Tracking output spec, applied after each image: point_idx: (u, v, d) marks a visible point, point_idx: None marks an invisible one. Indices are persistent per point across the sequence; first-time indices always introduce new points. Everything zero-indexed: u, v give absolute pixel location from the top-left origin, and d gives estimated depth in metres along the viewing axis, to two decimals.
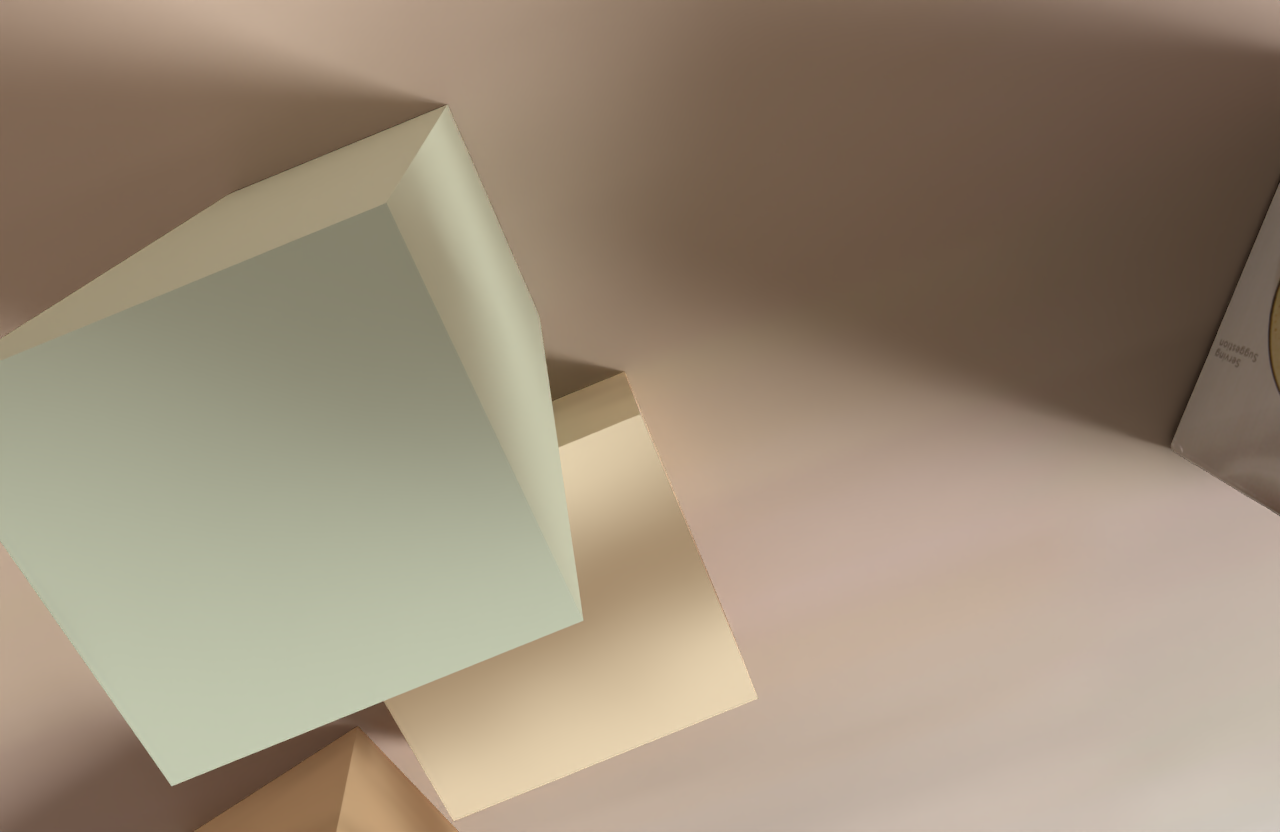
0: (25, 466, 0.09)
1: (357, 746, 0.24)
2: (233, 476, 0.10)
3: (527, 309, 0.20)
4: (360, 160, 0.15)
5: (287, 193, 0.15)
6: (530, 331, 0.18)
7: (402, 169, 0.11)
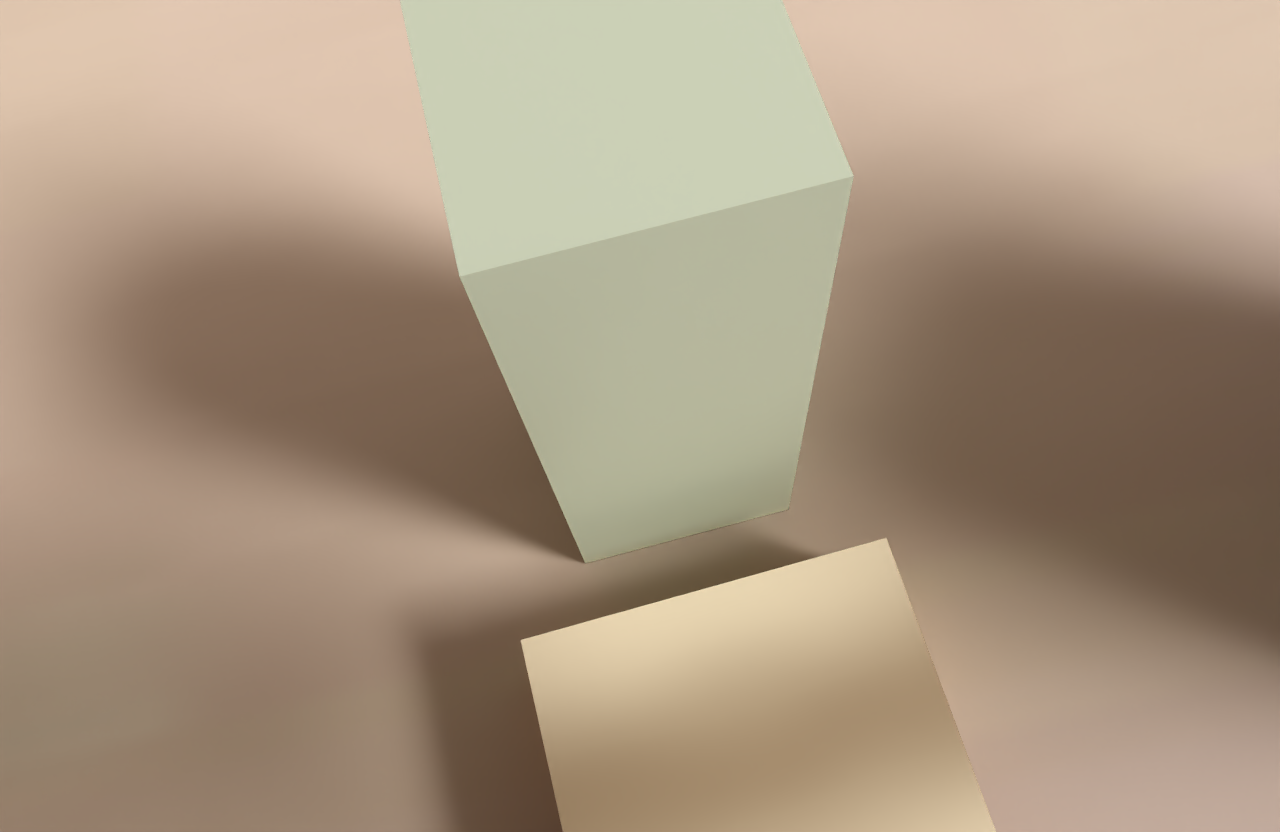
0: (453, 22, 0.13)
1: None
2: (591, 39, 0.13)
3: None
4: None
5: None
6: None
7: None
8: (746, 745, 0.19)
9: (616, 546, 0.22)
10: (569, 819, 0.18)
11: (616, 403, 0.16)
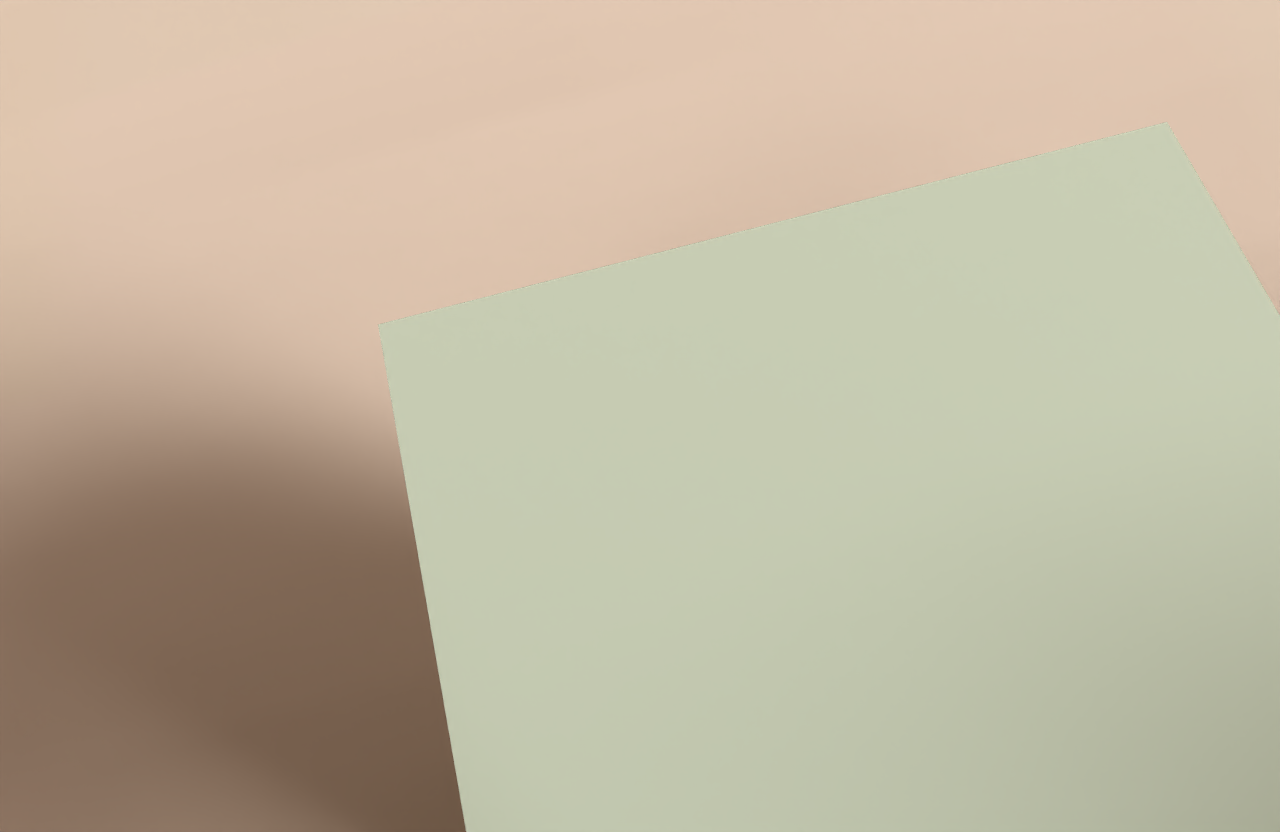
0: (517, 449, 0.05)
1: None
2: (868, 515, 0.05)
3: None
4: None
5: None
6: None
7: None
8: None
9: None
10: None
11: None
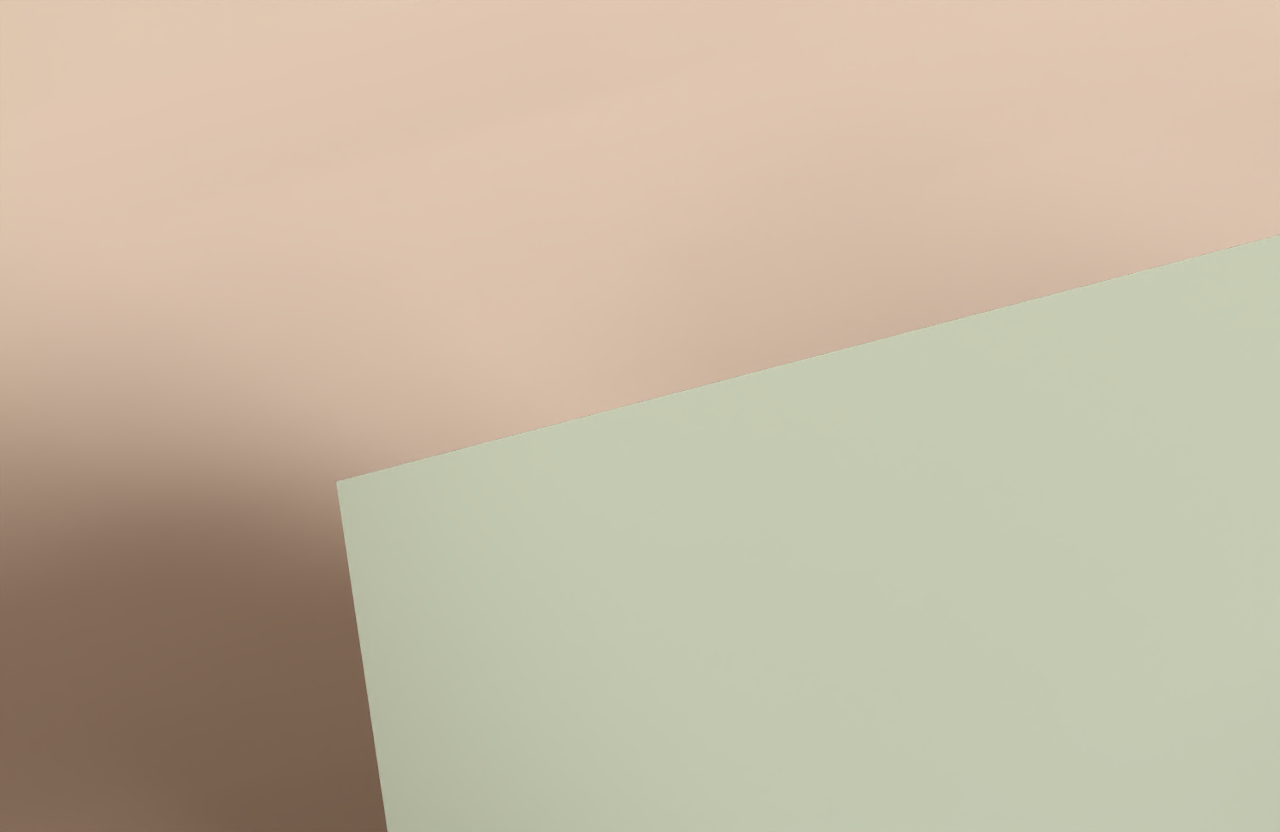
0: (537, 682, 0.04)
1: None
2: (1065, 800, 0.03)
3: None
4: None
5: None
6: None
7: None
8: None
9: None
10: None
11: None
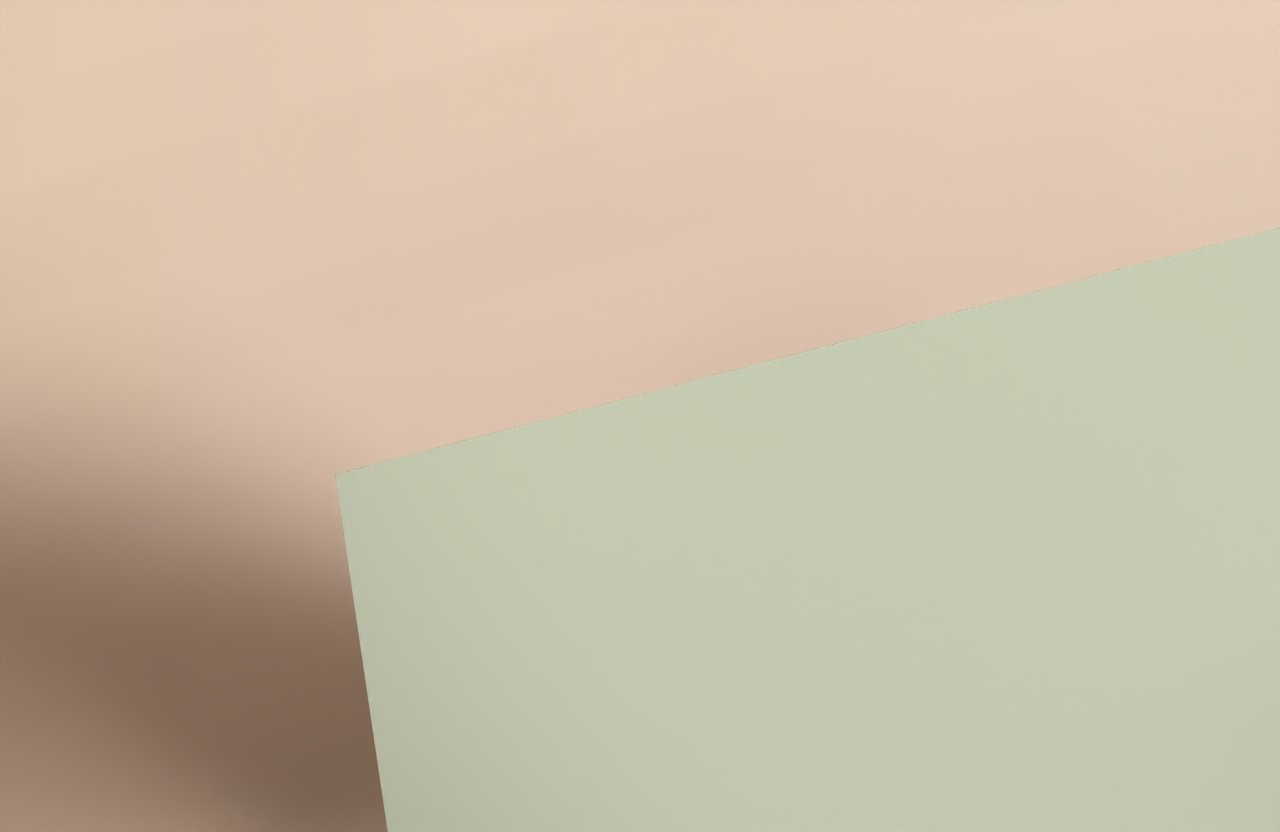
0: (535, 673, 0.04)
1: None
2: (1059, 789, 0.03)
3: None
4: None
5: None
6: None
7: None
8: None
9: None
10: None
11: None
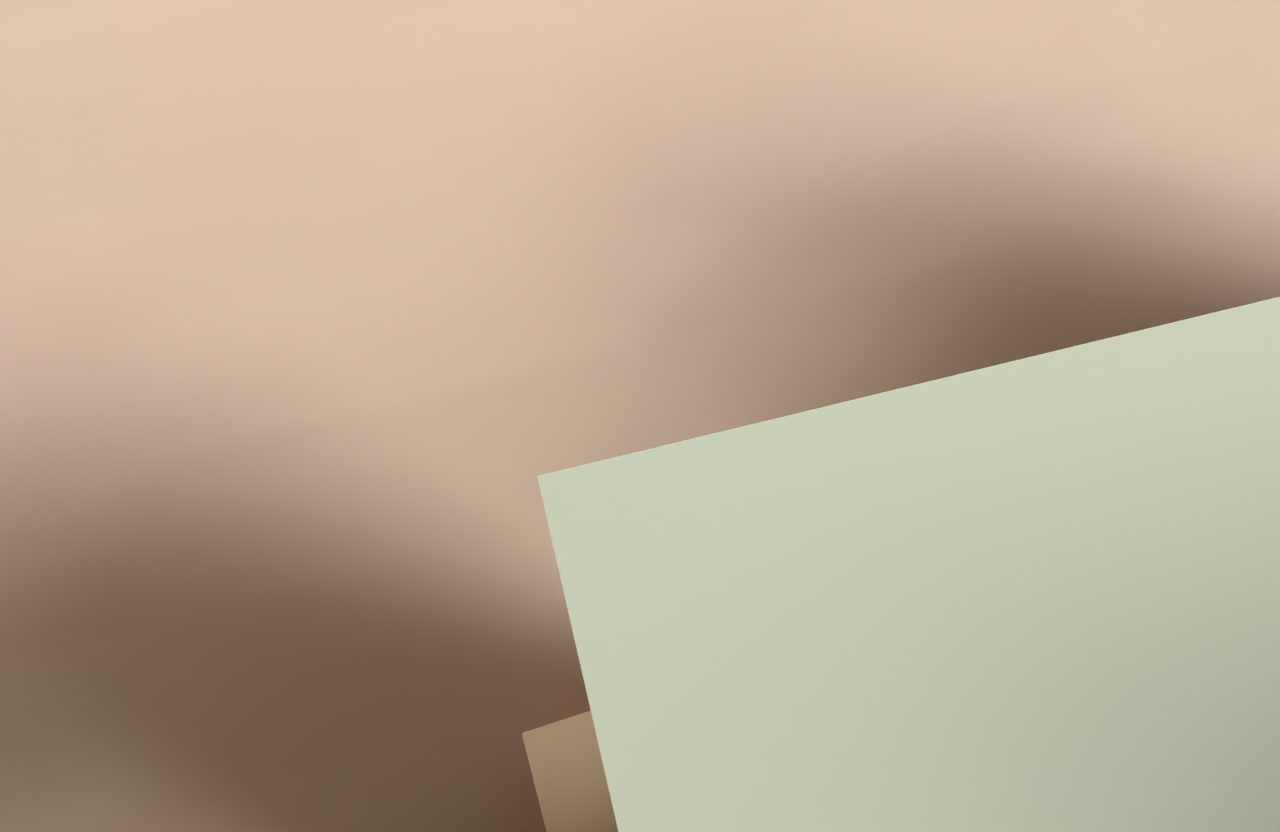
0: (696, 620, 0.05)
1: None
2: (1074, 701, 0.05)
3: None
4: None
5: None
6: None
7: None
8: None
9: None
10: None
11: None
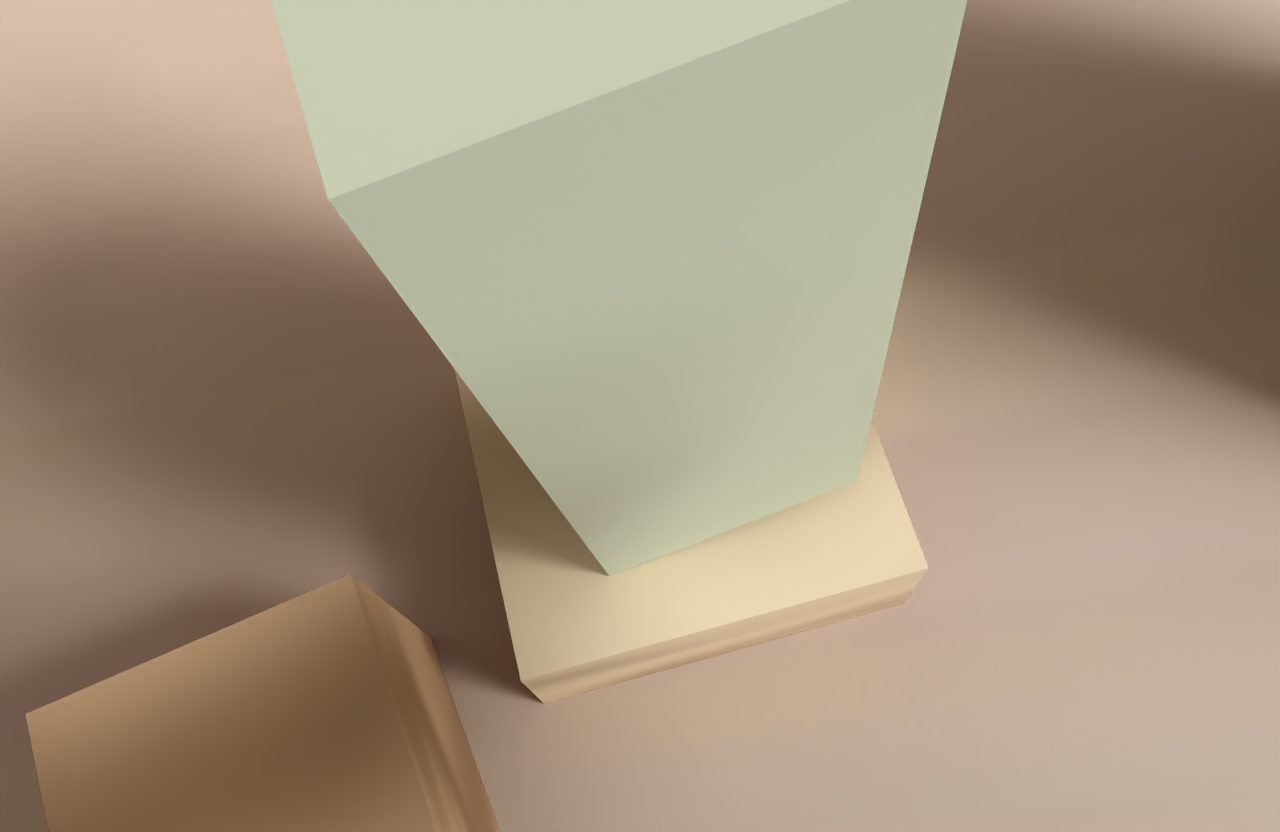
0: None
1: (424, 635, 0.20)
2: None
3: None
4: None
5: None
6: None
7: None
8: None
9: (646, 552, 0.17)
10: (484, 469, 0.19)
11: (623, 376, 0.11)
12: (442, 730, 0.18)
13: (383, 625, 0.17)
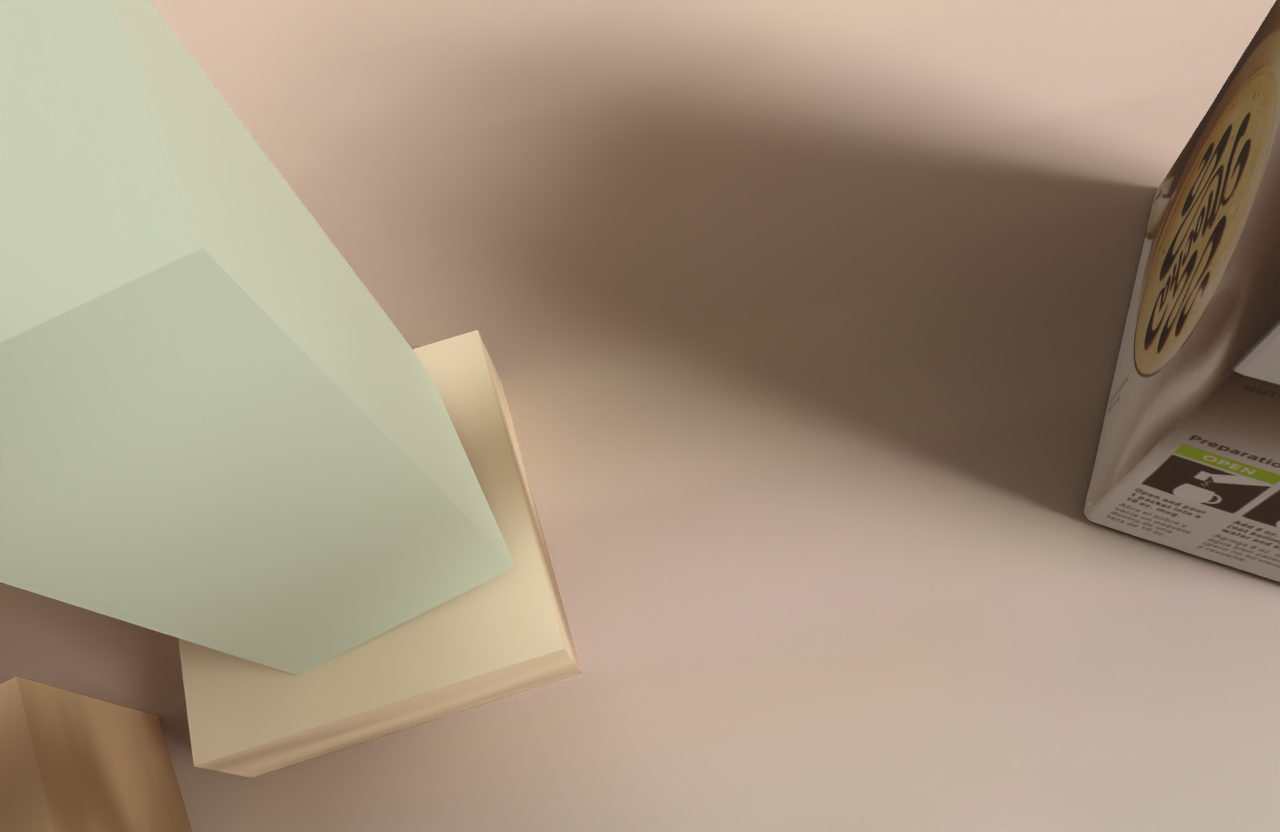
0: None
1: (144, 716, 0.22)
2: None
3: (469, 496, 0.18)
4: None
5: None
6: (448, 476, 0.17)
7: None
8: None
9: (320, 652, 0.19)
10: None
11: (142, 540, 0.13)
12: (136, 807, 0.20)
13: (61, 718, 0.19)
